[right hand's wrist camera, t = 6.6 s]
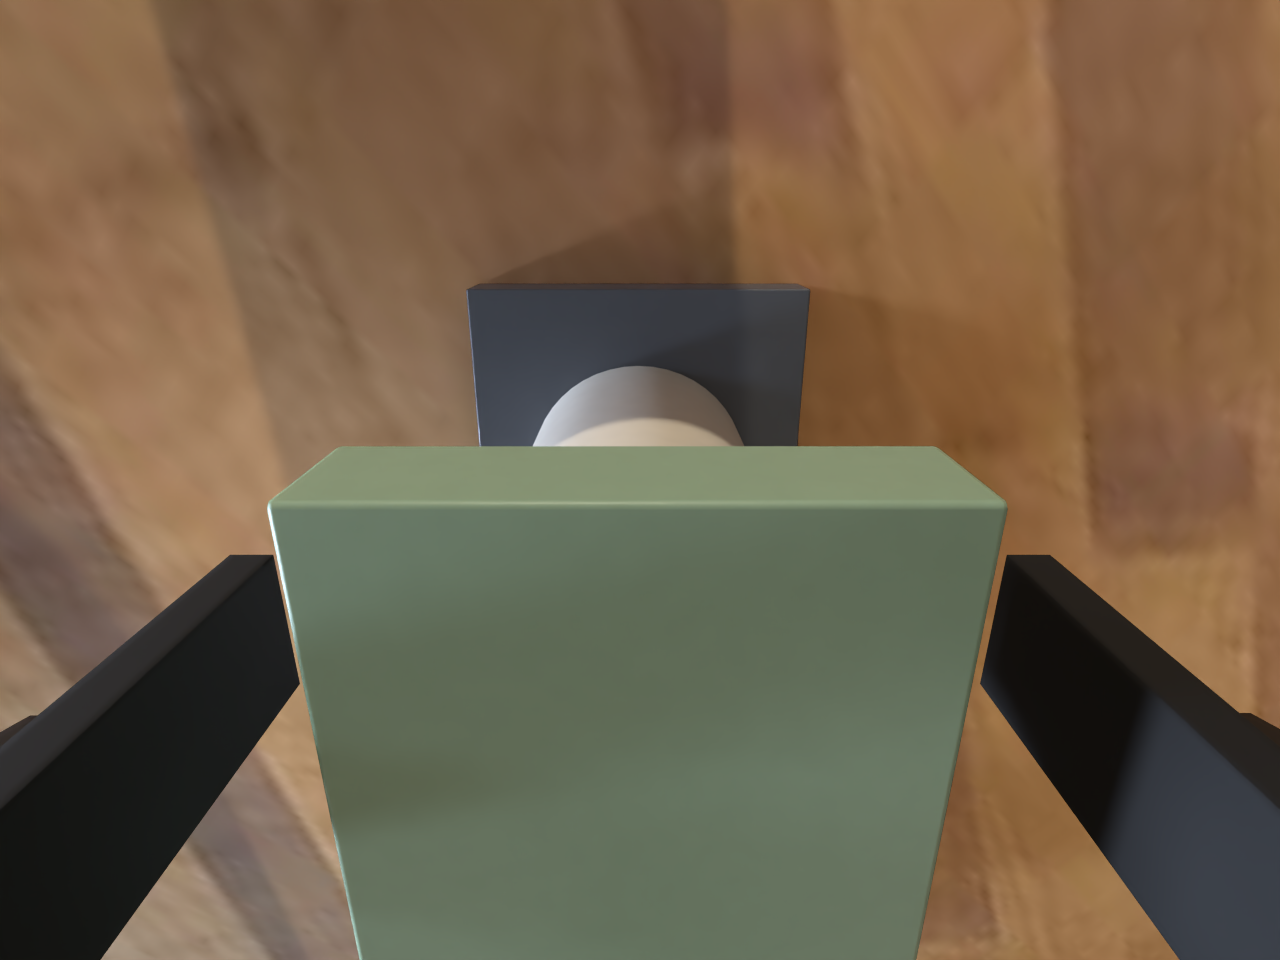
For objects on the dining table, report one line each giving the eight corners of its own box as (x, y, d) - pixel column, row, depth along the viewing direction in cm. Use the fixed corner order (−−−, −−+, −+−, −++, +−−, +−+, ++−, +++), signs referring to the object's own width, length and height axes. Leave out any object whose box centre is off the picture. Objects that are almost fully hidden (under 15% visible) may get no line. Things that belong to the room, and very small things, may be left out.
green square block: (435, 802, 14) (365, 1004, 10) (383, 408, 11) (262, 502, 7) (840, 801, 14) (909, 1004, 10) (892, 408, 11) (1013, 501, 7)
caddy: (529, 935, 29) (465, 1360, 18) (478, 283, 20) (285, 370, 9) (747, 934, 29) (811, 1360, 18) (798, 283, 20) (989, 369, 9)
